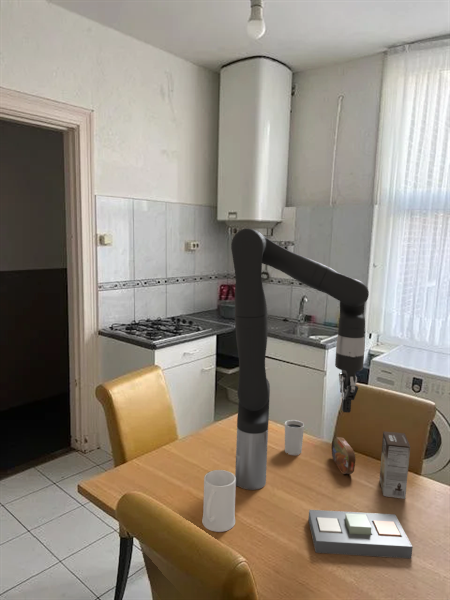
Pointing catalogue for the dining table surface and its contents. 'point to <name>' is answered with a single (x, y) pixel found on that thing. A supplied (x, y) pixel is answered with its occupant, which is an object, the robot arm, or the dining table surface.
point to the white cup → (293, 437)
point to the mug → (219, 500)
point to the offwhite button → (328, 525)
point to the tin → (343, 455)
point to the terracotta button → (386, 528)
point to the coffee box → (394, 464)
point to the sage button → (357, 524)
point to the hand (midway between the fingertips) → (345, 411)
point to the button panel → (359, 537)
